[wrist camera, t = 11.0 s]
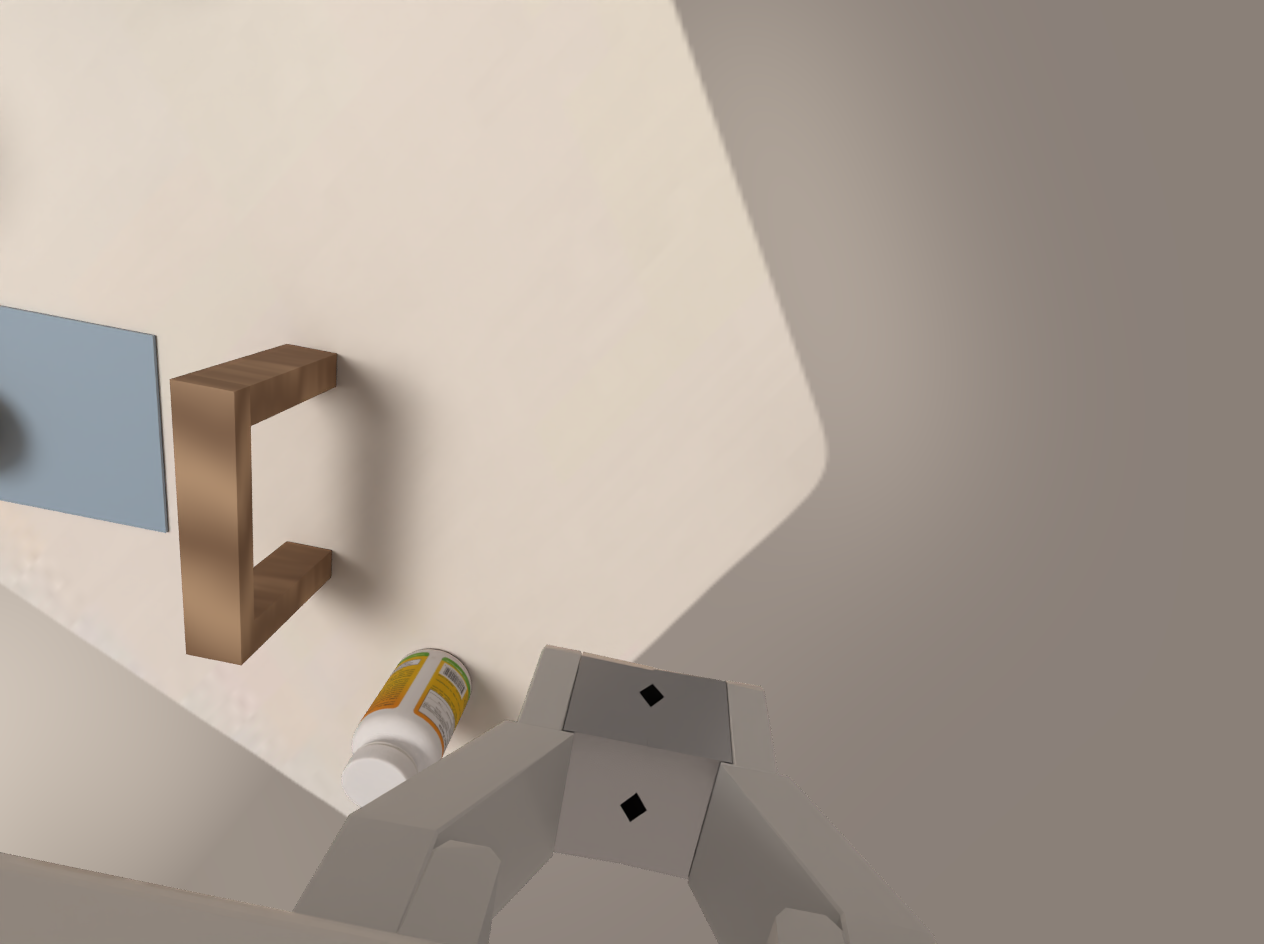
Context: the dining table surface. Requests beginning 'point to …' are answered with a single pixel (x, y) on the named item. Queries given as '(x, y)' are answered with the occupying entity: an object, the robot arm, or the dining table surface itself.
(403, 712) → the supplement bottle
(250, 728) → the dining table surface
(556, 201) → the dining table surface
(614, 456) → the dining table surface
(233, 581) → the bridge
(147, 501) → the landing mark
